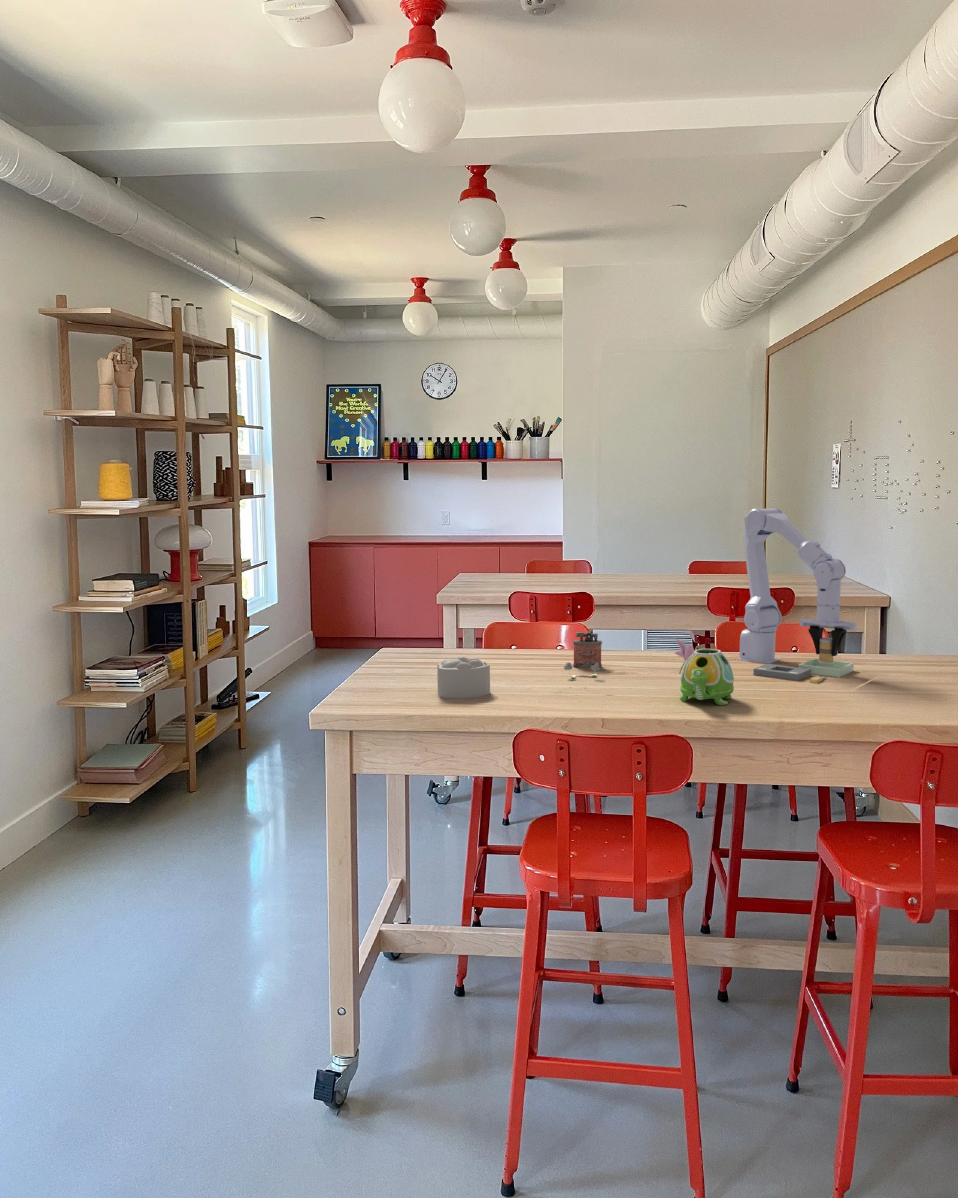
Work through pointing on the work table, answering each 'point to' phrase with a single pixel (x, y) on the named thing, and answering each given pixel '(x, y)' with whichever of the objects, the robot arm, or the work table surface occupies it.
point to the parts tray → (828, 668)
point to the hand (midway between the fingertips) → (826, 654)
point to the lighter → (587, 650)
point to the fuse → (825, 652)
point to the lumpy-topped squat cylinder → (463, 678)
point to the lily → (684, 651)
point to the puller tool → (817, 679)
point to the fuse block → (782, 672)
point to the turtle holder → (707, 677)
